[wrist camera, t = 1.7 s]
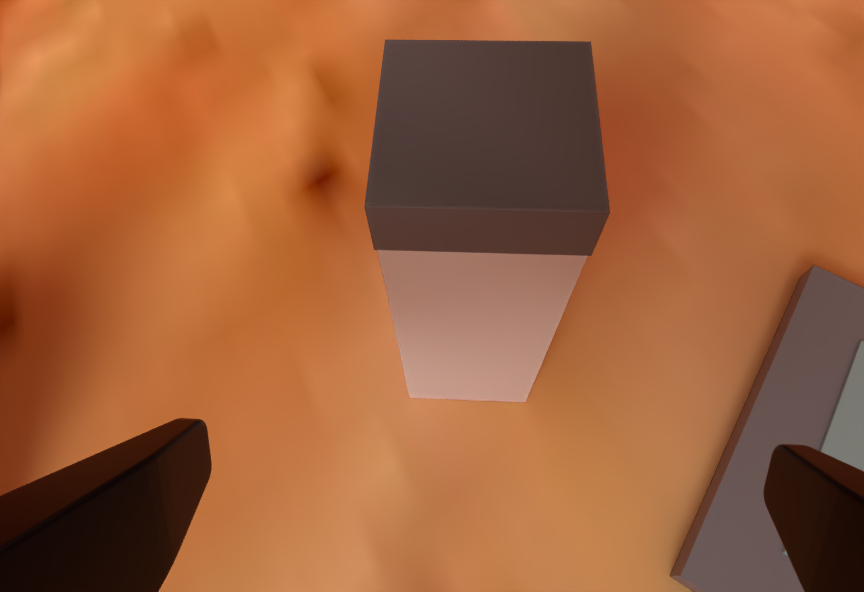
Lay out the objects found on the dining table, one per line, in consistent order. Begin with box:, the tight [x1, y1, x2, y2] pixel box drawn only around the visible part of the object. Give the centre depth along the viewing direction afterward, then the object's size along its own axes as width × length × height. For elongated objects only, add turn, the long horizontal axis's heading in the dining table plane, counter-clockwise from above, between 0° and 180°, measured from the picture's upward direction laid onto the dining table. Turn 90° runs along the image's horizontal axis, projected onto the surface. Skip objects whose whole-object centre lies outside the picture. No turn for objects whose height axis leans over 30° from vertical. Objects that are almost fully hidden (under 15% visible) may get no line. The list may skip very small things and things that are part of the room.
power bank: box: [365, 40, 610, 402], centre depth 18 cm, size 5×5×13 cm
